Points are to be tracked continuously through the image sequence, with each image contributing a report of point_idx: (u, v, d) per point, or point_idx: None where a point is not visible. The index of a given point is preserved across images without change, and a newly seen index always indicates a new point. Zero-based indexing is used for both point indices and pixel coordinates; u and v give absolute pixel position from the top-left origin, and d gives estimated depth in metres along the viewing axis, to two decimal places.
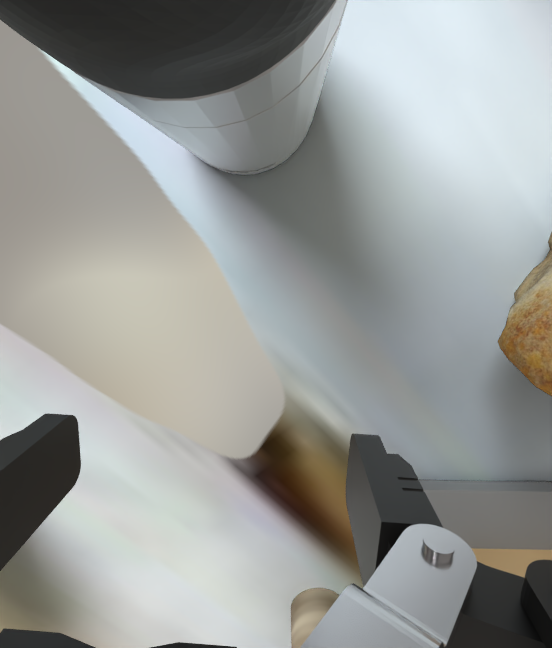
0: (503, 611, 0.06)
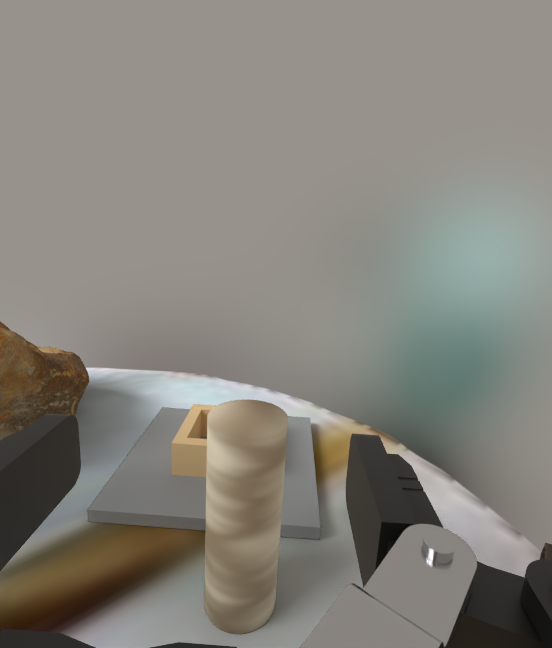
0: (503, 611, 0.06)
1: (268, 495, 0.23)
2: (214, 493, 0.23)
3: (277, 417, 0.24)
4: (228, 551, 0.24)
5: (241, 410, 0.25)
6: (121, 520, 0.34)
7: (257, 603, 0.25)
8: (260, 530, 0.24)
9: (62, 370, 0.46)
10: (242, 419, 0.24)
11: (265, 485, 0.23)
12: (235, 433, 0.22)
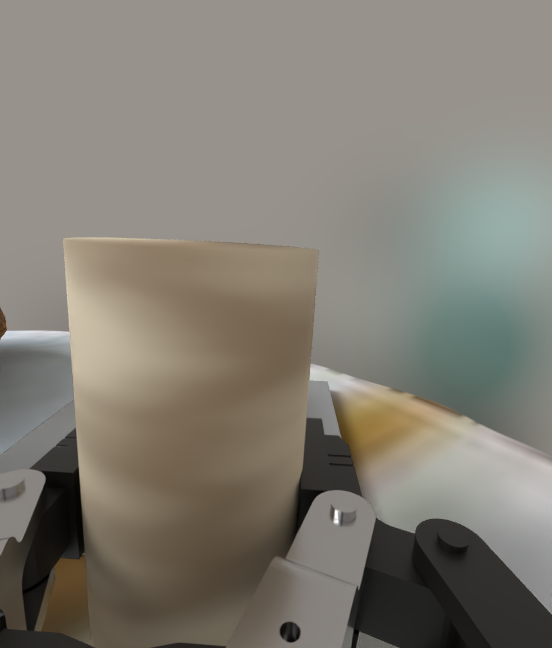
0: (394, 562, 0.07)
1: (260, 476, 0.07)
2: (86, 472, 0.07)
3: (286, 248, 0.08)
4: None
5: None
6: None
7: None
8: (237, 588, 0.07)
9: None
10: (180, 243, 0.08)
11: (249, 441, 0.07)
12: (136, 245, 0.06)
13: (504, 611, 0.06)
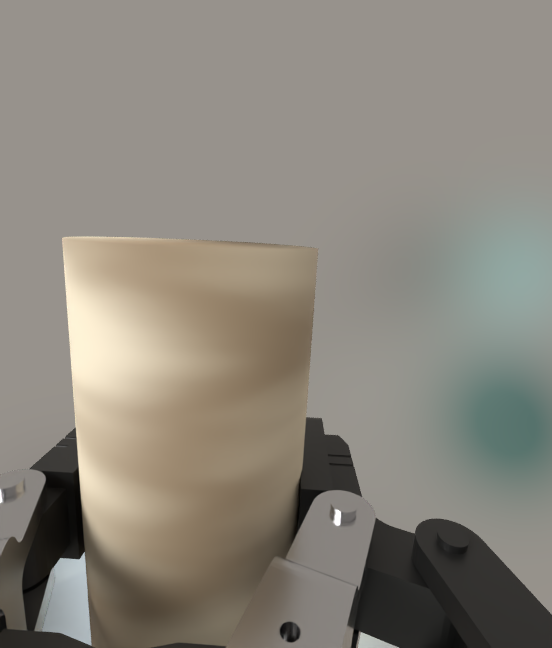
0: (394, 562, 0.07)
1: (259, 475, 0.07)
2: (87, 471, 0.07)
3: (286, 246, 0.08)
4: None
5: None
6: None
7: None
8: (237, 587, 0.07)
9: None
10: (179, 242, 0.08)
11: (248, 440, 0.07)
12: (134, 243, 0.06)
13: (504, 611, 0.06)
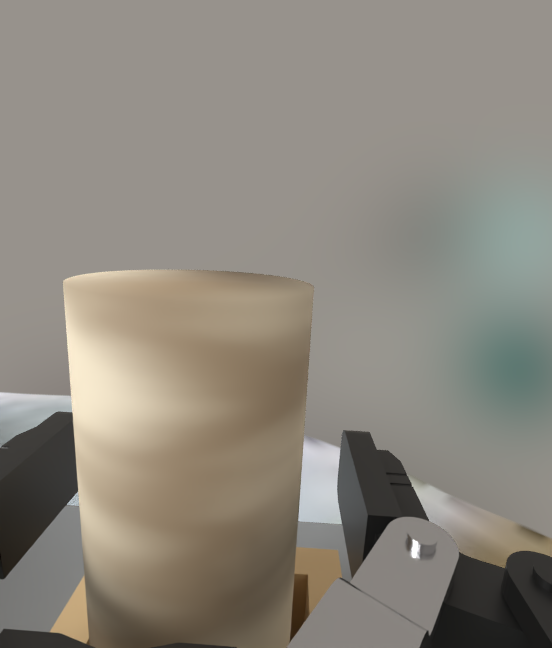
0: (483, 601, 0.06)
1: (256, 513, 0.07)
2: (86, 509, 0.07)
3: (282, 284, 0.08)
4: None
5: (181, 276, 0.09)
6: None
7: None
8: (234, 622, 0.08)
9: None
10: (178, 282, 0.08)
11: (245, 481, 0.07)
12: (133, 294, 0.06)
13: None
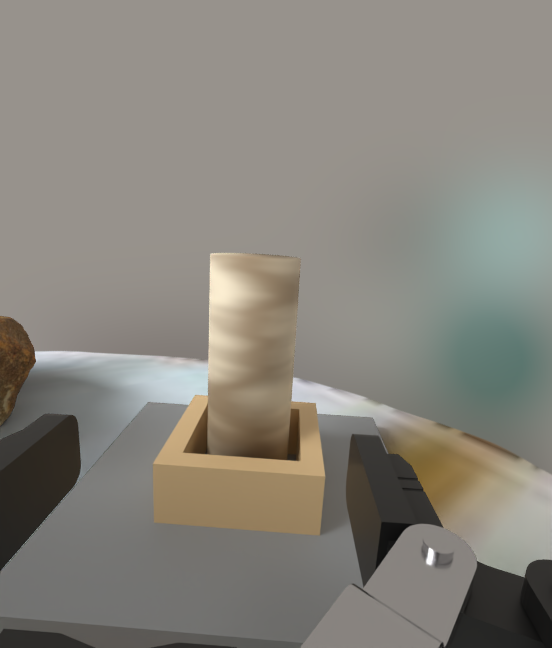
0: (503, 611, 0.06)
1: (279, 337, 0.21)
2: (218, 337, 0.21)
3: (288, 257, 0.22)
4: (234, 403, 0.21)
5: (248, 255, 0.22)
6: None
7: None
8: (270, 378, 0.21)
9: None
10: (249, 256, 0.21)
11: (276, 323, 0.20)
12: (242, 257, 0.20)
13: None
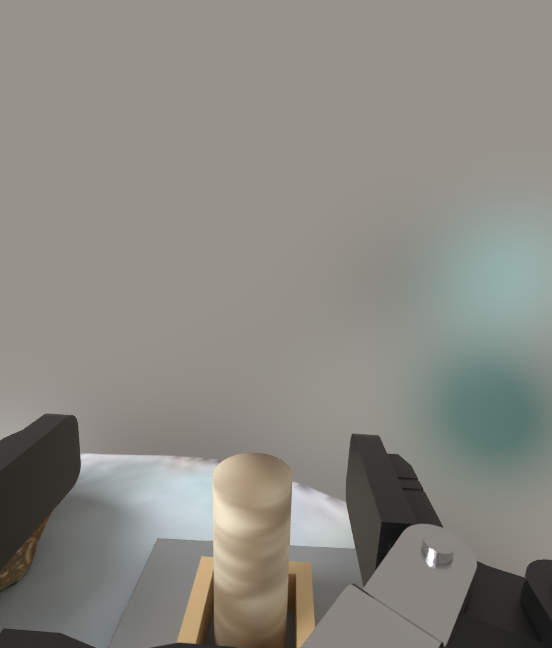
0: (503, 611, 0.06)
1: (275, 553, 0.24)
2: (221, 553, 0.24)
3: (281, 473, 0.25)
4: (237, 610, 0.24)
5: (246, 467, 0.25)
6: None
7: None
8: (268, 588, 0.24)
9: None
10: (247, 476, 0.24)
11: (271, 544, 0.23)
12: (240, 495, 0.23)
13: None
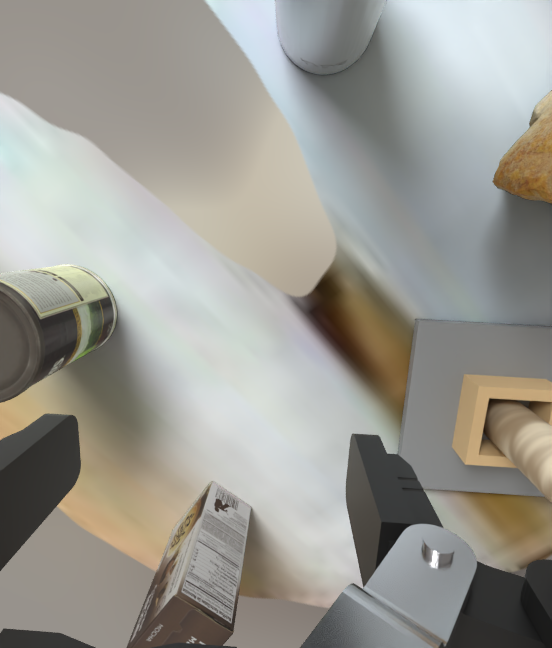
0: (503, 611, 0.06)
1: (530, 480, 0.34)
2: (536, 445, 0.34)
3: None
4: (505, 435, 0.37)
5: None
6: (412, 345, 0.43)
7: (485, 433, 0.42)
8: (513, 462, 0.36)
9: None
10: None
11: (534, 483, 0.33)
12: None
13: None
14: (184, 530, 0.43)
